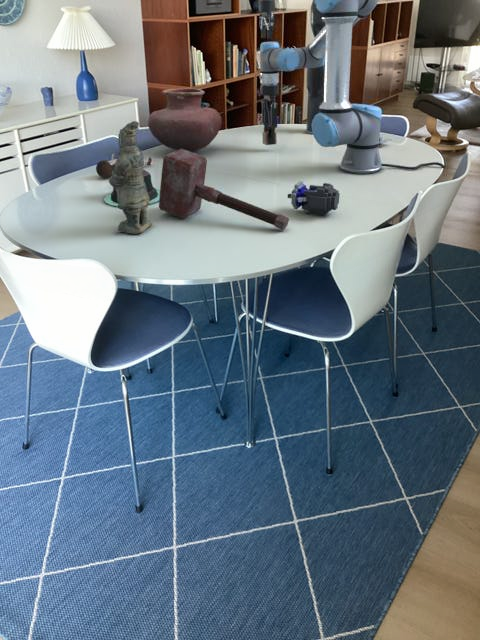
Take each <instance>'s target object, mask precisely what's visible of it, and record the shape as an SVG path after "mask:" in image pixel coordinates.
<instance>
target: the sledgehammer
mask: <svg viewBox="0 0 480 640" xmlns="http://www.w3.org/2000/svg"><path fill="white" fill-rule="evenodd" d="M207 164H208V159H207V158H206V157H205V156H203V155H200V154H197V153H195V152H190V151H187V150H184V149H179V150H174V151H172V152H169V153H167V154H165V155H164V156H163V158H162V167H161V176H160V187H159V190H160V198H159V200H158V208H159V210H160V211H162V212H165V213H168V214H170V215H173V216H174V217H177V218H180V219H182V220H185V219H187V218H188V217H190V216H192V215H193V214H195V213H197V212H198V211H199V210H200V209H201V207H202V201H203V200H204V201H207V202H209V203H213V204H215V205H220V206H223V207H225V208H228V209H231V210H233V211H236V212H239V213H241V214H243V215H245V216H248V217H252V218H255V219H257V220H260V221H262V222H264V223H267V224H270V225H273V226H274V228H276V229H280V230H282V231H285V230H286V228H287V227H288V224H289V221H290V218H289V217H288V216H286V215H283V214H281V213H279V214H277V213H275V212H273V211H269V210H267V209H265V208H262V207H259V206H256V205H254V204H251V203H248V202H246V201H244V200H242V199H238V198H236V197H233V196H231V195H228V194H225V193H223V192H222V191H220V190H218V189H215V188H214V187H211V186H208V185H205V181H206V175H207Z"/></svg>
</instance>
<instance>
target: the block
mask: <svg viewBox="0 0 480 640" xmlns="http://www.w3.org/2000/svg"><path fill="white" fill-rule="evenodd" d="M262 144H263V145H265V146H269V145H268V131H267V132H264V131H262ZM273 145H277V132H276V131H275V144H272V146H273Z"/></svg>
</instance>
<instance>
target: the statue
mask: <svg viewBox="0 0 480 640" xmlns="http://www.w3.org/2000/svg"><path fill="white" fill-rule="evenodd" d="M139 126H140V122H139V121H136V120H134V121H131V122H129V123H127V124H126V125H125V126H123V127H122V128H121V129H119V133H118V139H117V141H118V146H119V152H118V154H117V156H116V160H115V163H116V164H115V170H114V175H113V176H111V177H109V180H108V183H109V184H110V186H111V187H112V188H113V187H114V188H115V189H116V192H117V202H118V206H117V209H119V210H122V213H123V214H124V215H125V218H126V219H125V220H122V221H120V222H119V224H118V225H117V231H118V232H121V233H126V234H134V235H136V234H142V233H143V232H145V231H146V230H147V229H148V228H150V227H151V226H152V225H153V223H152V220H150V219H148V216H147V214H148V213H147V212H148V211H147V209H148V206H149V205H150V197H149V195H148V192H147V188H146V184H145V182H144V178H143V169H144V166H145V165H144V163H145V157H144V153H143V151H142V150H141V149H139V147H138V145H137V144H138V142H137V141H138V140H137V139H138V137H137V132H138V131H139V128H140V127H139Z"/></svg>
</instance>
